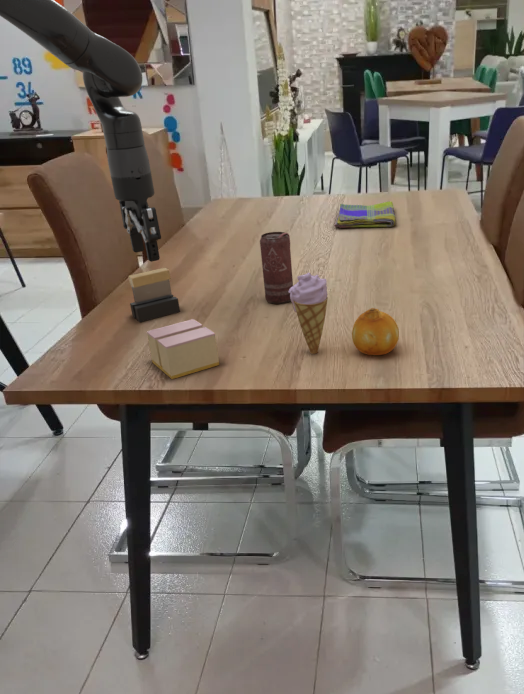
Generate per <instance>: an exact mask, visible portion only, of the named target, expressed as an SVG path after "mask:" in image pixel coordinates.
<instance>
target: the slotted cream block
mask: <svg viewBox="0 0 524 694" xmlns="http://www.w3.org/2000/svg"><path fill="white" fill-rule="evenodd" d="M146 336H147V342H148V346H149V352H150V357H151V362H152V364H154V365H155V366H156V367H157V368H158V369H159V370H160V371H161V372H163V373H164V374H165V375H166V376H167V377H169V378H170V379H171V380H175V379H178V378H181V377H184V376H187V375H191V374H195V373H198V372H201V371H204V370H207V369H210V368H214V367H217V366H220V359H219V353H218V352H219V351H218V345H217V337H216V333H215V332H214V331H213V330H212V329H210V328H208V327H207V326H203V324H202V323H200V322H199V321H197V320H196V319H194V318H191V319H188V320H184V321H180V322H176V323H172V324H170V325H165V326H161V327H157V328H153V329H149V330H147V331H146Z"/></svg>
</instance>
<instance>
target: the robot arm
mask: <svg viewBox="0 0 524 694" xmlns="http://www.w3.org/2000/svg"><path fill="white" fill-rule="evenodd" d="M0 17H1V18H3V19H4V20H6V21H7V22H8V23H10V24H11V25H13V26H14V27H16V29H19V30H20V31H21V32H23V33H24V34H25V35H27V36H28V37H29V38H31V39H32V40H33V41H35V42H36V43H37V44H38V45H40V46H41V47H42V48H43V49H45V50H46V51H48V52H49V53H50V54H51V55H53V56H54V57H55V58H57V59H58V60H59V61H60V62H62V63H63V64H64V65H66V66H67V67H69V68H70V69H73V70H75V71H78V72H82V81H83V85H84V88H85V90H86V93H87V95H88V96H87V97H88V98H89V100H90V102H91V104H92V107H93V109H94V111H95V113H96V115H97V117H98V119H99V122H100V124H101V127H102V132H103V138H104V142H105V148H106V154H107V156H106V157H107V165H108V171H109V175H110V180H111V185H112V189H113V194H114V199H116V200H117V201H118V203H119V208H120V214H121V218H122V219H121V220H122V225H123V229H124V230H126V233H128V235H129V238H130V244H131V248H132V252H133V253H141V252H144V250H145V251H146V257H147V260H148V261H149V262H151V263H152V262H156V261H159V260H160V259H161V256H160V251H159V246H158V241H159V240H161V239H162V235H161V229H160V225H159V219H158V215H157V209H156V207H154V206H152V207H150V206H149V203H148V199H150V198H153V196H154V195H155V188H154V183H153V182H154V181H153V176H152V171H151V164H150V159H149V155H148V152H147V148H146V145H145V138H144V134H143V133H144V131H143V127H142V122H141V119H140V116H139V114H138V113H137V112H135V111H132V110H130V109H127V108H126V107H124V105H123V103H122V100H121V99H120V98H127V97H131V96H134V95H136V94H137V93H138V92H139V91H140V90H141V88H142V85H143V72H142V69H141V66H140V64H139V63H138V61H137V59H135V57H134V56H133V55H132V54H131V53H130V52H129V51H127V50H126V49H125V48H123V47H122V46H120V45H118V44H116V43H115V42H114V41H113V42H112V41H111V40H109V39H108V38H106V37H104V36H102V35H100V34H97V33H96V32H94V31H92V30H91V29H90V28H89V27H88V26H87V25H86V24H85V23H83V22H82V21H81V20H80V19H79V18H78V17H77V16H75V15H74V14H73V13H72V12H71V11H70V10H68V8H66V7H65V6H63V5H62V4H60V3H59V2H58V1H56V0H0Z"/></svg>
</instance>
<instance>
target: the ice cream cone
mask: <svg viewBox="0 0 524 694" xmlns="http://www.w3.org/2000/svg"><path fill="white" fill-rule="evenodd" d="M296 278H297V280H298V281H297V282H296V283H295V284H293V286H292V287H291V288H290V289H289V291H288V292H289V293H291V294H290V299H291V301H290V302H291V303H292V306H293V311H294V312H295V313H296V317H297V319H298V322H299V326H300V329H301V332H302V334H303V337H304V340H305V343H306V346H307V348H308V351H309V353H310V354H311V355H316V354H318V353H319V349H320V344H321V339H322V335H323V330H324V325H325V320H326V314H327V307H328V287H327V283H328V281H327V279H326V278H321V277H319V274H316V275H313V274H311V272H309V271H308V272H306V273H305V274H300V275H297V277H296Z"/></svg>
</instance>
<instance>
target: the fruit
mask: <svg viewBox="0 0 524 694" xmlns="http://www.w3.org/2000/svg"><path fill="white" fill-rule="evenodd" d="M399 330H400V329H399V326H398V323H397V322H396V320H395V319H394V318H393V317H392V316H391V315H389V313H387V312H384V311H381V310H379V309H378V308H375V307H372V308H369V309H367V310H366V311H364V312H363V313H361V314H359V316H358V317H357V318H356V319H355V321H354V323H353V326H352V330H351V339H352V343H353V345H354V347H355V349H357V350H358V351H359V352H360V353H362V354H365V355H368V356H383V355H386V354H389V353H390V352H392V351H393V350H394V349H395V347H396V346H397V344H398V342H399V338H400V331H399Z"/></svg>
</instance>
